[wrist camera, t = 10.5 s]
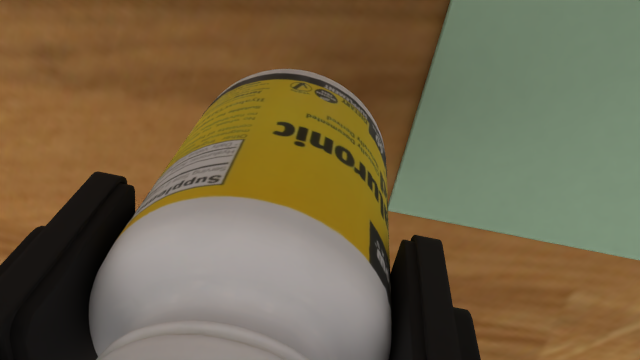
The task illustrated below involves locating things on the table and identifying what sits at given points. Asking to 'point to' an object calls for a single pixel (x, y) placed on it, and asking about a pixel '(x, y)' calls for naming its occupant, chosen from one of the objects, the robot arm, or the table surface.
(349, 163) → the supplement bottle
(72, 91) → the table surface
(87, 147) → the table surface
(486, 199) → the cloth
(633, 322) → the table surface
